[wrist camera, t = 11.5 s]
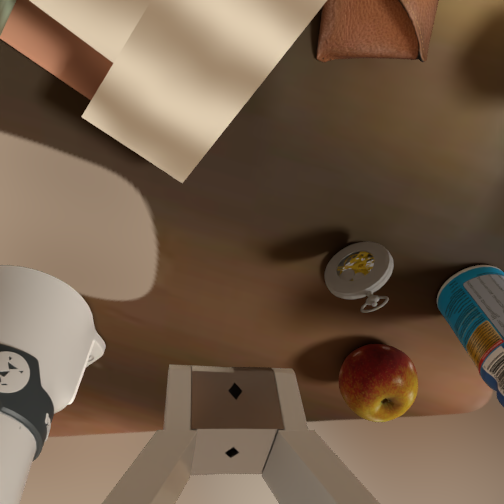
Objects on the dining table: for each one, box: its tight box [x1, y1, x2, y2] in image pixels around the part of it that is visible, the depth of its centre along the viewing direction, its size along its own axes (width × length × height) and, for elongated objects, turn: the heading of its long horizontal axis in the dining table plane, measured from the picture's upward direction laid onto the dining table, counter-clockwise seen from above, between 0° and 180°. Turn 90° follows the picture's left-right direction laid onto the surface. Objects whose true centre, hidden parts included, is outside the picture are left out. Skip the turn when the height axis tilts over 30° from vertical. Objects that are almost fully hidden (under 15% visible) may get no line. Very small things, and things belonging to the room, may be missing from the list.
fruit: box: [339, 344, 418, 422], centre depth 51 cm, size 10×9×8 cm
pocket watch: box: [324, 242, 394, 313], centre depth 40 cm, size 8×8×10 cm
